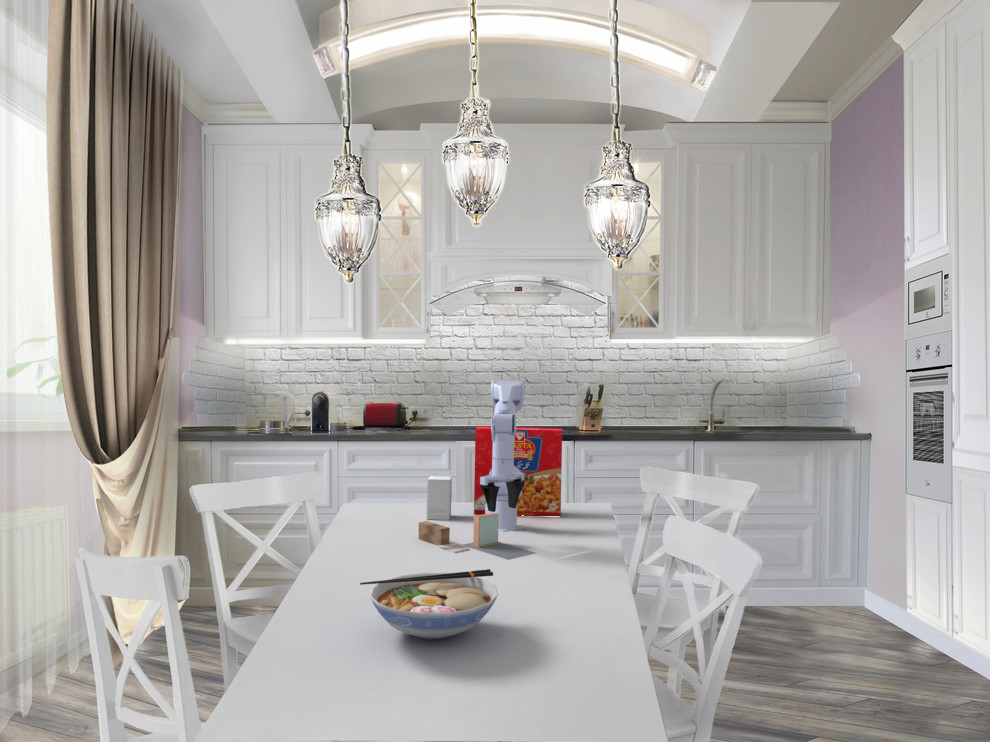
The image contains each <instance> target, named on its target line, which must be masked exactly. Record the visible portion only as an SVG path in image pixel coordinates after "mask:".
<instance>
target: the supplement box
mask: <svg viewBox="0 0 990 742" xmlns="http://www.w3.org/2000/svg"><path fill="white" fill-rule="evenodd" d="M426 482H427V484H426V485H427V486H426V520H434V521H435V520H436V521H441V520H442V521H449V520H450V517H451V515H452V494H453V493H452V491H453V490H452V488H453V487H452V483H453V477H452V476H450V475H449V476H447V475H446V476H445V475H443V476H441V475H439V476H438V475H437V476H436V475H431V476H429V477H428V478H427V481H426Z"/></svg>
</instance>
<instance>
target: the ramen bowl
mask: <svg viewBox="0 0 990 742" xmlns="http://www.w3.org/2000/svg"><path fill="white" fill-rule="evenodd" d="M493 576H494V572H493V571H492V570H491V569H490V568H489V569H488V568H487V569H479V570H477V569H476V570H471V571H469V570H468V571H459V572H458V571H457V572H418V573H410V574H404V575H403V574H402V575H398V576H395V577H392V578H388V579H384V580H374V581H364V582H359V585H360V586H361V585H362V586H363V585H370V584H371V585H375V584H376V585H375V586H373V587H371V591H370V594H369V598H370V600H371V602H372V604H373V606H374V607H375V609H376V610H377V612H378V613H379V615H380V616H381V617H382V618H383V619H384V620H385V621H386V622H387V623H388V624H389V625H390V626H391V627H392V628H394V629H395V630H397V631H399V632H402V633H404V634H407V635H410V636H414V637H417V638H419V639H422V640H427V641H433V640H432V639H438V640H443V638H444V639H447V638H449V636H450V637H451V636H454V635H459V634H460V633H463V632H466V631H468V630H470V629H472V628H474V627H476V626H477V625H478V624H479V623H480V622H481V620H483V618H484V617H485V616H486V615H487V613H489V612H490V610H491V608H492V607H493V605H494V604H495V602H496V600H497V598H498V596H499V593H498V588H497V586H496V585H494V584H493V583H491V582H489V581H488V580H486V579H482V577H493Z"/></svg>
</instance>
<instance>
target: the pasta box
mask: <svg viewBox="0 0 990 742" xmlns="http://www.w3.org/2000/svg"><path fill="white" fill-rule="evenodd" d="M474 431H475V432H474V433H475V435H474V436H475V437H474V483H473V484H474V489H473V516H476V515H482V514H485V506H486V499H485V496H484V494H483V492H482V490H481V488H480V477H484V476H488V475H490V472H491V470H492V456H493V441H492V432H491V426H477V427H475V430H474ZM562 458H563V428H553V427H552V428H549V427H548V428H547V427H544V428H543V427H516V433H515V435H514V466H515V467H516V468H518V469H519V470H520V471H521V473H524V480H522V481H524V482H525V485H524V487H523V489H522V496H521V497H520V498H518V501H517V517H522V516H521V515H524V516H562V514H561V513H562V474H563V473H562V467H563V466H562V462H563V461H562V460H563V459H562Z"/></svg>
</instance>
